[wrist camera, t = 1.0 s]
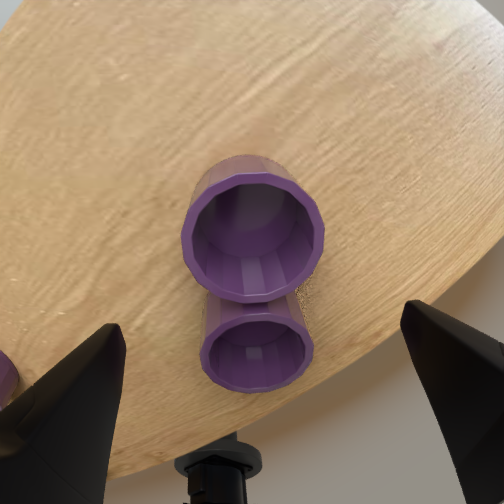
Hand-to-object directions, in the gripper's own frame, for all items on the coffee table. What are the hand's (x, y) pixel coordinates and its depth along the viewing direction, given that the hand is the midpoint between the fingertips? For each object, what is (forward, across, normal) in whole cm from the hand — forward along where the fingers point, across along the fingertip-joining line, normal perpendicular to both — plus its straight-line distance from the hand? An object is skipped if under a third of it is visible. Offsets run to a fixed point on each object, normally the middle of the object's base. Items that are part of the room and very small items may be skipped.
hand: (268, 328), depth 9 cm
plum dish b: (+10, 0, 0) cm, 10 cm away
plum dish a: (+10, 0, +7) cm, 12 cm away
